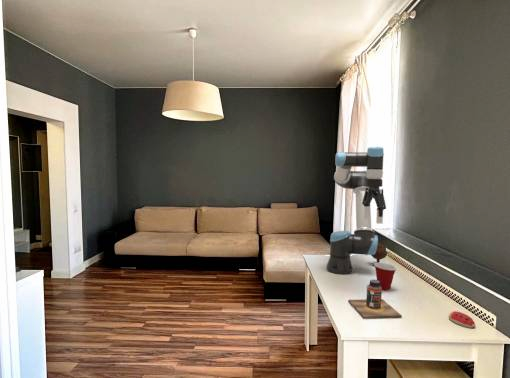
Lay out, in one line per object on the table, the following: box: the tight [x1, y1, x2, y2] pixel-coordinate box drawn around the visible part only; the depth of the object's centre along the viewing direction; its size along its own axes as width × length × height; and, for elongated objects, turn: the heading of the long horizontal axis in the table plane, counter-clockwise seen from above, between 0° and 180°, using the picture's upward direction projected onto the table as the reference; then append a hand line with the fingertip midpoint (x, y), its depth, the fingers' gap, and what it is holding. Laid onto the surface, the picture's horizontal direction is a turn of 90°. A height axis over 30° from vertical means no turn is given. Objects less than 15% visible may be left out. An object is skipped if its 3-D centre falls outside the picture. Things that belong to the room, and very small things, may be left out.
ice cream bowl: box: [370, 241, 389, 267], centre depth 194 cm, size 11×11×15 cm
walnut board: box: [347, 298, 403, 320], centre depth 132 cm, size 16×16×1 cm
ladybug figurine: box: [448, 310, 476, 329], centre depth 121 cm, size 7×10×4 cm
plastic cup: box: [373, 262, 398, 291], centre depth 156 cm, size 11×11×12 cm
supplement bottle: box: [365, 279, 383, 309], centre depth 132 cm, size 6×6×11 cm
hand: (372, 221), depth 152 cm, fingers open, 13 cm apart
